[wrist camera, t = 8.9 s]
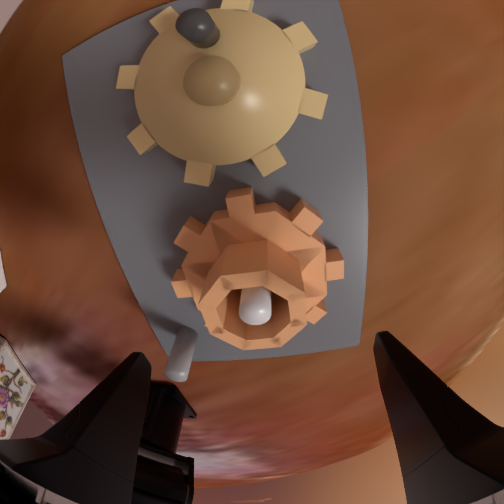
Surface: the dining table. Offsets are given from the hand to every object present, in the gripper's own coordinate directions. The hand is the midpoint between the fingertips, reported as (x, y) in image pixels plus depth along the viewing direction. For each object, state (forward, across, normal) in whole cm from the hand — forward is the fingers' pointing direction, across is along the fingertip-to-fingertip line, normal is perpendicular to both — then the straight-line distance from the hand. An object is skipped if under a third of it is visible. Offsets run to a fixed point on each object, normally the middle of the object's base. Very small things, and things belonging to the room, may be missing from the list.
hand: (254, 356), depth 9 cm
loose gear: (+6, 0, 0) cm, 6 cm away
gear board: (+7, +1, -3) cm, 8 cm away
